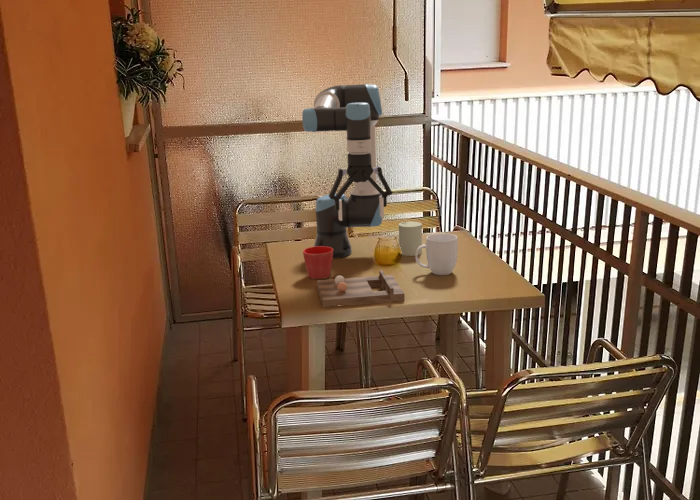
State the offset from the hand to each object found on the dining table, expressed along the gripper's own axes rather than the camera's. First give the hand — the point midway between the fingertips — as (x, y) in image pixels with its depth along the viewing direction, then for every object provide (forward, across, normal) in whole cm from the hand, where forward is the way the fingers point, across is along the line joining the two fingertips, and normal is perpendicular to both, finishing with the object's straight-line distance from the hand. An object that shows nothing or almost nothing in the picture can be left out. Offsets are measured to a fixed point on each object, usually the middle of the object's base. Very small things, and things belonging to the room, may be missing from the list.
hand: (361, 218), depth 234 cm
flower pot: (+25, -12, +21) cm, 35 cm away
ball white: (+21, -8, +1) cm, 22 cm away
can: (+25, +27, +41) cm, 55 cm away
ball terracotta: (+21, -8, -6) cm, 23 cm away
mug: (+25, +30, +13) cm, 41 cm away
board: (+25, -2, -2) cm, 25 cm away
